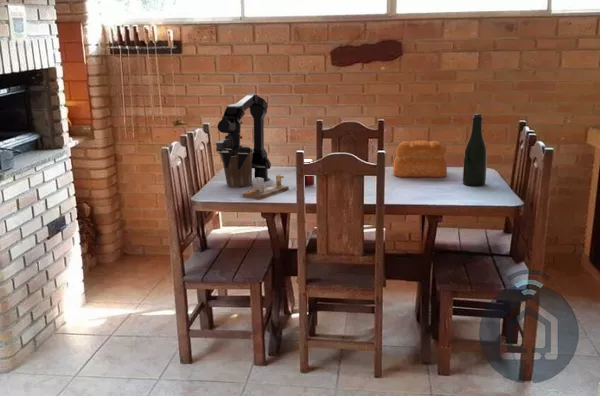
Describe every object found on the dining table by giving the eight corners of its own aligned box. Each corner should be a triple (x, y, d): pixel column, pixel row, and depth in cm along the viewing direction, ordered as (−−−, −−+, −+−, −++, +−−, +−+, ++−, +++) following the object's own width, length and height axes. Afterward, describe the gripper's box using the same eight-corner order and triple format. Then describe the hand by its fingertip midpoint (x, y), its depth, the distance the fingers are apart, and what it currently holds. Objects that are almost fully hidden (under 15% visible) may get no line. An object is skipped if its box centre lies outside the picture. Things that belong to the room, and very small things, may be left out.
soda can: (316, 183, 298) (315, 159, 295) (311, 187, 291) (311, 162, 288) (302, 182, 300) (301, 158, 297) (297, 186, 293) (296, 161, 290)
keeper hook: (278, 184, 291) (278, 174, 290) (285, 185, 289) (284, 175, 288) (275, 185, 289) (274, 175, 288) (281, 186, 287) (281, 176, 286)
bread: (392, 171, 321) (392, 138, 316) (443, 171, 319) (444, 137, 314) (394, 178, 306) (395, 143, 301) (448, 177, 304) (449, 143, 299)
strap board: (272, 186, 294) (272, 183, 293) (288, 189, 288) (288, 186, 287) (242, 196, 278) (242, 192, 277) (259, 199, 272) (259, 195, 271)
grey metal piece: (257, 190, 281) (257, 177, 279) (264, 191, 278) (263, 178, 277) (245, 194, 274) (244, 181, 273) (251, 195, 272) (251, 182, 270)
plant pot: (249, 189, 290) (247, 156, 285) (217, 188, 294) (214, 155, 289) (260, 179, 305) (257, 147, 300) (229, 178, 309) (226, 147, 303)
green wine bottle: (489, 183, 290) (493, 113, 282) (478, 187, 283) (482, 115, 274) (469, 180, 297) (472, 111, 289) (458, 184, 290) (461, 114, 281)
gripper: (207, 132, 277) (205, 167, 278) (231, 133, 263) (230, 169, 265) (227, 133, 284) (226, 167, 286) (252, 134, 271) (250, 170, 272)
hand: (232, 168), depth 277 cm, fingers open, 9 cm apart
